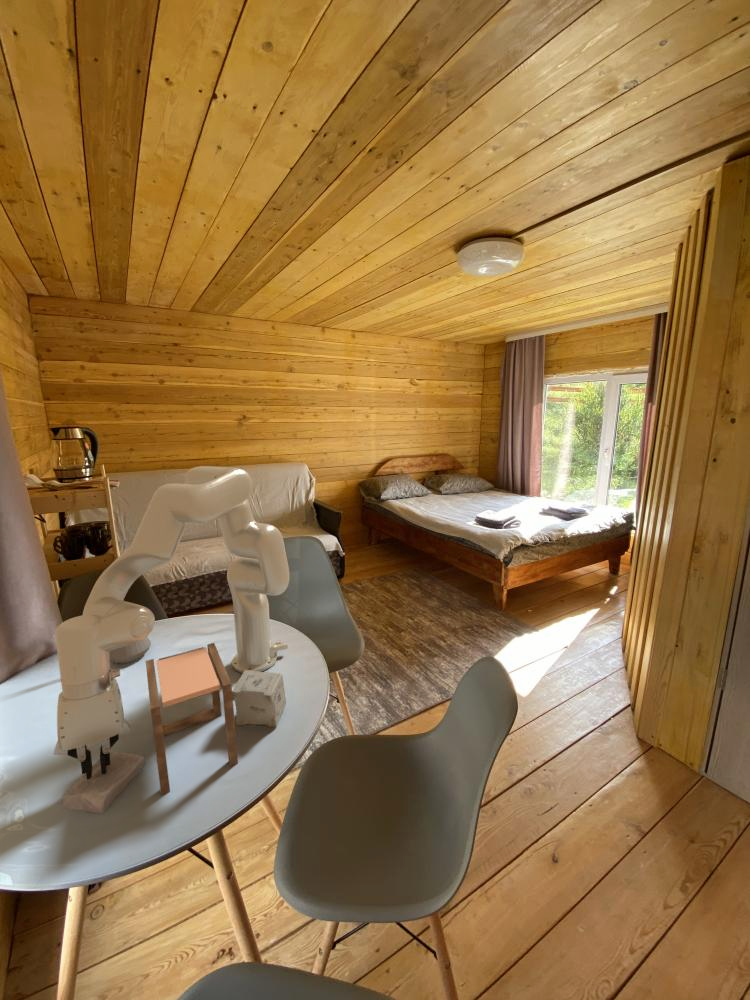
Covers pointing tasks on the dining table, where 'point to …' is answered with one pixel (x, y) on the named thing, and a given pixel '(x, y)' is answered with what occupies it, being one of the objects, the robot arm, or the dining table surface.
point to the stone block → (103, 783)
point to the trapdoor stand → (194, 719)
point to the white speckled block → (259, 698)
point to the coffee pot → (130, 652)
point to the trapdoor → (186, 676)
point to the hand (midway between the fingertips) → (97, 770)
